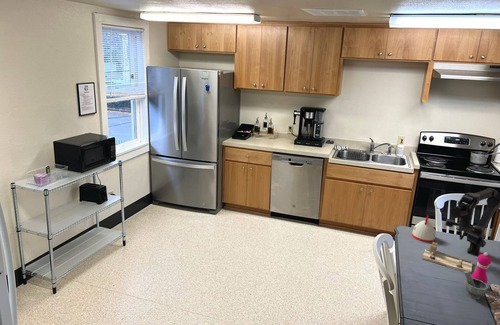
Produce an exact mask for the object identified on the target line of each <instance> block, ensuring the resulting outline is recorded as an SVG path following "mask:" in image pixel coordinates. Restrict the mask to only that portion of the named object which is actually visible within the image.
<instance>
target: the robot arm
mask: <svg viewBox="0 0 500 325" xmlns="http://www.w3.org/2000/svg"><path fill="white" fill-rule="evenodd" d="M483 200H486V207H485V209H484V211H483V213H482V215H481V217H480V218H479V220H478V222H477V224H475V225H474V224H471V223H472V219H473V216H474V211H475V210H474V209H476V208H477V205H479V203H480V202H481V201H483ZM498 209H500V192H498V190H496V189H494V188H491V187H487V188H486V189H484V190H480V191H478V192H474V193H473V192H466V193H464V194H463V195H462V196H461V197H460V199H459V201H457V205H456V206H455V207H453V208H452V209H451V211H450V214H451V216H452V217H453V218H454V219H452V218H446V221H445V224H444V225H445V227H450V228H452V227H453V226H455V230H457V231H458V234H459V239H460V240H463V238H464V237H466V242H469V246H468V248H467V251H466V252H467V254H470V255H474V256H477V257H478V256H479V255H480V253H481V248H485V246H486V245H487V242H486V241H485V240H486V239H485V237H486V234H485V231H486V229H487V227H488V225H489V223H490V222H491V219H492V218H493V216H494V214H495V212H496V211H497V210H498ZM455 219H459V220H458V222H456V221H455Z"/></svg>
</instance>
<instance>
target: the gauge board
mask: <svg viewBox="0 0 500 325" xmlns="http://www.w3.org/2000/svg"><path fill="white" fill-rule="evenodd" d="M430 256H431V253H430V248H427V247H426V248H425V250H424V252H423V254H422V257H421V259H422V260H425V261H427V262H430V263H433V264H437V265H439V266H440V265H441V266H444V267H446V268H449V269H450V268H451V269H454V270H456V271H460V272H463V273H464V271H470V275H472V272H473V271H472V270H473V260H469V259H465V258H462V257H458V256H456V255H451V254H448V253H445V252H441V251H438V250H436V253H435V254H433V255H432V257H430Z"/></svg>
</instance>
